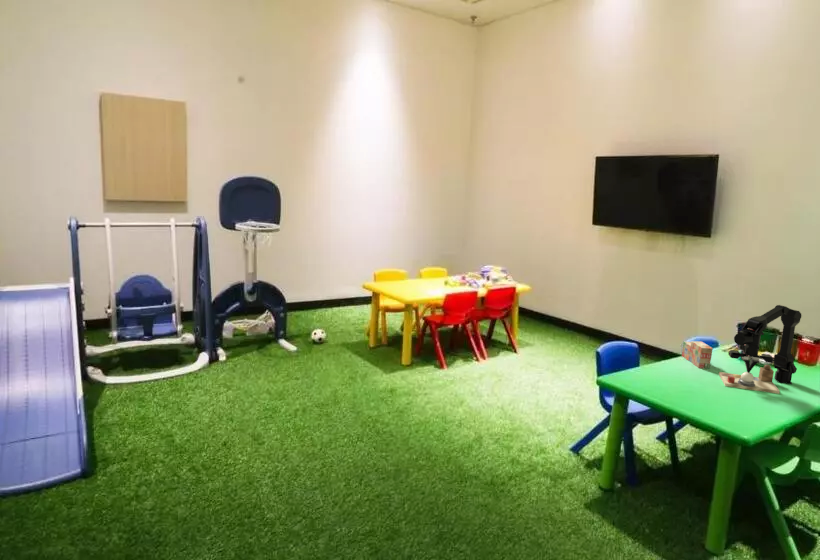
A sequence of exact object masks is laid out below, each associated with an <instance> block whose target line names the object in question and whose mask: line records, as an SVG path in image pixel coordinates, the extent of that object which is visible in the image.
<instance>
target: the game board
mask: <svg viewBox="0 0 820 560" xmlns="http://www.w3.org/2000/svg"><path fill="white" fill-rule="evenodd" d="M741 375H742V374H736V373H729V372H721V371H719V372H718V376H719V378H720V380H721V382H722V383H723V385H724V386H725V387H728V388H729V387H730V388H737V389H744V390H750V391H757V392H764V393H769V394H771V393H772V394H778V395H780V392H781V391H780V389H779V388H778V387H777V386H776V384H775V383H774V382H773V381H772V382H765V381H761V380H760V379H759V376H753V377H754V379H753V381H754V385H746V384H743V383H740V382H739V379H740V378H741Z"/></svg>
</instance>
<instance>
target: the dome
mask: <svg viewBox="0 0 820 560" xmlns="http://www.w3.org/2000/svg"><path fill="white" fill-rule="evenodd" d="M740 375H741V378H740V379H739V382H740V383H743V384H746V385H754V381H753V379H754V377H755V376H754V375H753V373H751V371H750V372H749V373H748V372H747V371H744V372H743V373H741V374H740Z"/></svg>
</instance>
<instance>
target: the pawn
mask: <svg viewBox="0 0 820 560" xmlns="http://www.w3.org/2000/svg"><path fill="white" fill-rule="evenodd" d="M774 372H775V371H774V370H773V369H772V366H771V365H770V364H764V365H763V367H762V366H760V367H759V373H758V377H759V379H760V380H761V381H765V382H773V379H774V375H775V373H774Z"/></svg>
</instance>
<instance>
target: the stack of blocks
mask: <svg viewBox="0 0 820 560" xmlns="http://www.w3.org/2000/svg"><path fill="white" fill-rule="evenodd" d="M713 349H714V348H713V347H711V346H710V345H708V344H706V343H705V342H703V341H695V340H694V341H692V340H691V341H683V342H682V350H681V357H682V358H684V359H686V361H689V363H691V364H692V365H694V366H695V367H696V368H698V369H710V367H711V360H712V355H713V354H712V353H713Z"/></svg>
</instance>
